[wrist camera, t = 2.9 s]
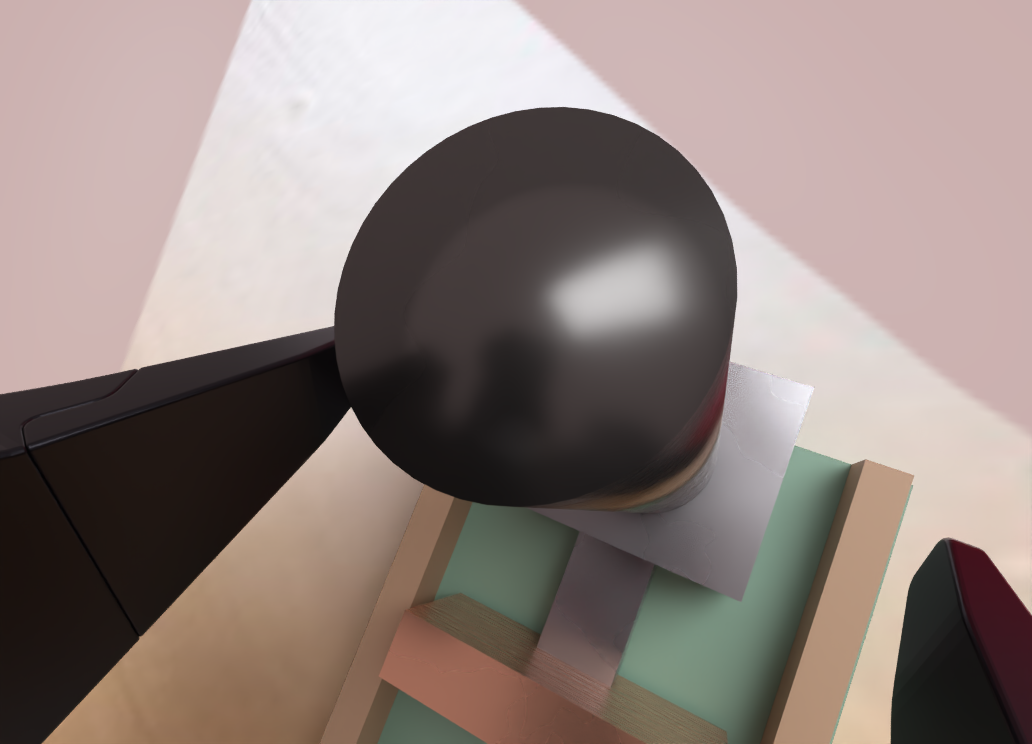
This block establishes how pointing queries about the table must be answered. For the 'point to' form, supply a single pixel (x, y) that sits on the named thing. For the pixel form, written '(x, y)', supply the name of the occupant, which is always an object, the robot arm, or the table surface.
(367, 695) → the pitch
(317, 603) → the table surface
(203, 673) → the table surface
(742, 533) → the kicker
